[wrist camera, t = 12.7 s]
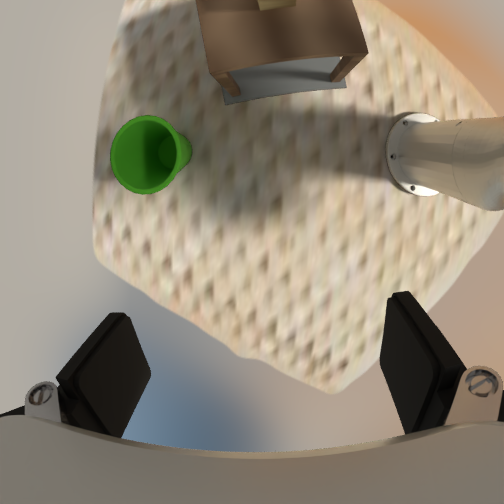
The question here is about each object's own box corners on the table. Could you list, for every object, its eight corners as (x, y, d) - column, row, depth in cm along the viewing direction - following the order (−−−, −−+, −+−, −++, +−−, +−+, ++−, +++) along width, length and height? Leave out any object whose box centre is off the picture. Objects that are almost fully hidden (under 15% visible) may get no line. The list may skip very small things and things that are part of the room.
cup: (140, 134, 39) (101, 133, 29) (196, 113, 37) (168, 103, 27) (157, 189, 42) (122, 204, 32) (213, 171, 40) (191, 180, 30)
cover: (315, -4, 29) (334, -80, 11) (339, 81, 34) (385, 36, 16) (214, 10, 31) (175, -60, 13) (232, 96, 36) (195, 58, 18)
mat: (318, -9, 29) (319, -10, 28) (346, 87, 34) (346, 87, 34) (206, 8, 31) (205, 7, 31) (225, 105, 37) (225, 104, 36)
